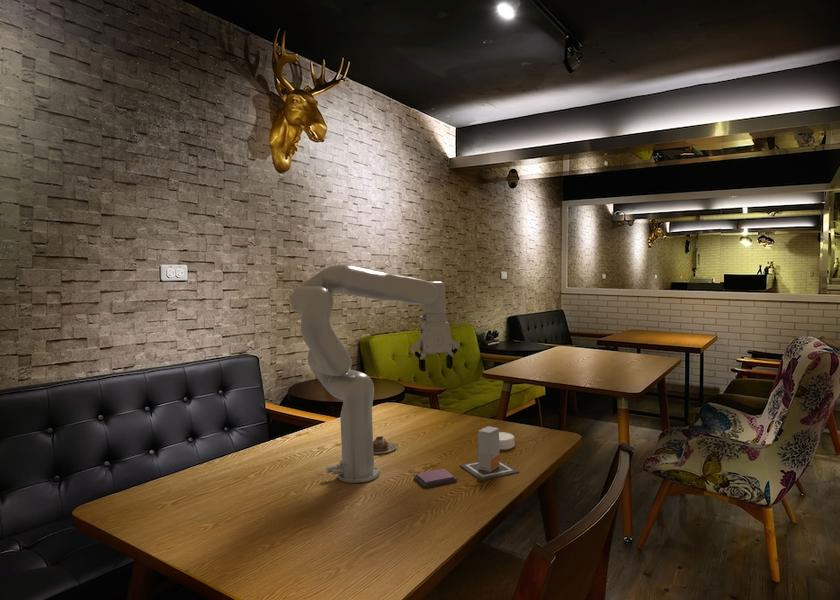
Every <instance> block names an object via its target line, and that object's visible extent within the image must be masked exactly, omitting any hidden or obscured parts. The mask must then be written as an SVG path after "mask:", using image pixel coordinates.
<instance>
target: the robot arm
mask: <svg viewBox="0 0 840 600" xmlns="http://www.w3.org/2000/svg"><path fill="white" fill-rule="evenodd" d="M335 294H344V295H345V294H346V295H351V296H354V297H355V296H356V297H362V298H367V299H373V300H379V301H397V302H398V301H401V302H402V303H404V304H407V305H413V306H414V305H416V306H422V309H423V310H422V315H420V316H419V320H420V321H422V323H421V326H420V331H419V332H420V334H419V335H420V336H419V341H417V342H415V344H413V345H411V346H410V349H411V351H412V353H413V355H414V356H415V357H416V358H417V359H418V369H419V371H420V372H422V373H423V372H426V359H425V357H427V355H428V354H429V355H430V354H433V355H434V354H442V353H443V354H444V353H445V354H446V356H445V362H446V368H447V369H450V370H452V369H453V365H454V364H453V363H454V359H453V358H454V356H455V355H456V353H457V352H458V349H459V347H460V342H458V341H456V340H454V339H452V334H451V333H452V332H451V327H450V324H449V322H448V321H447V307H446V306H447V301H446V285H445V282H443V281H440V280H439V281H438V280H437V281H428V280H424V279H421V278H420V279H419V278H414V277H410V276H405V275H404V276H403V275H398V274H393V273H388V272H383V271H377V270H374V269H373V270H372V269H367V268H363V267H359V266H354V265H348V264H338V265H330V266H328V267H326V268H324V269H322V270H320V271H319V272H318V273H316V274H315V275H313V276H312V277H311V278H309V279H308V280H306V281H305V282H303V283H302V284H300V285H299V286H298V287H296V288H295V289H294V290H293V291H292V293H291V295H290V299H289V302H290V306H291V308H292V310H293V311H294V312H296V313H298V314H299V315H301V318H300V334H301V337H302V339H303V341H304V343H305V345H306V346H307V348H308V349H309V350H308V352H307V356H306V357H307V364H308V366H309V368H310V370H311V371H312V372H313V374H314V375H315V377H316V379H317V380H318V381H319V382H320V384H321V385H322V386H323V388H324V389H325V390H326V391H327V392H328V393H329V395H331V396H332V397H334V398H336V399H338V400H341V401H342V407H341V411H340V416H339V417H340V435H341V436H340V439H341V441H340V444H341V459H340V460H339V463H336V465H330V466H329V465H328V466H326V473H327V474H331V473H332V475H337V479H338V480H340V482H344V483H349V484H359V483H366V482H371V481H373V480H375V479H377V478H378V477H379V475H380V473H381V472H380V468H378V467H377V466H376V465H375V455H374V453H375V451H374V450H373V442H374V432H373V431H374V430H373V426H374V425H373V404H374V403H373V402H374V396H375V386H374V385H375V384H374V382H373V379H372V378H371V377H370V376H369V375H368V374H366V373H364V372H362V371H358V370H355V369H351V368H352V366H353V363H352V362H353V360H352V356H351V354H350V353H349V351H348V350H347V348H346V346H345V345H344V344H343V342H342V341H341V340H340V338H339V337H338V336H337V334H336V333H335V331H334V329H333V327H332V325H331V313H332V309H333V305H334V296H333V295H335ZM418 348H419V349H420V351H419V352H418Z"/></svg>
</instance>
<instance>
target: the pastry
mask: <svg viewBox="0 0 840 600" xmlns="http://www.w3.org/2000/svg"><path fill="white" fill-rule="evenodd" d="M397 448H398V447H397V444H396V443H393V442H390V441H389V442H388V440H387V439H385V438H384V436H383V435H380V436H377V437H375V439H373V450H374V456H376V455H380V454H381V455H383V454H387V453H391V452H393V451H395V450H396V449H397Z"/></svg>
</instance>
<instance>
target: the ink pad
mask: <svg viewBox="0 0 840 600" xmlns="http://www.w3.org/2000/svg"><path fill="white" fill-rule="evenodd" d="M413 479H414V480H415V481H416V482H417V483H418V484H419V485H420V486H422V487H423V488H424V489H428V488H432V487H438V486H443V485H447V484H452V483H457V482H458V481H457V477H456V476H454V475H453V474H452V473H450V472H449V471H448V470H446V469H445V468H440V469H434V470H430V471H429V470H428V471H423V472H419V473H416V474H415V475H413Z"/></svg>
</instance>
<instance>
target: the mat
mask: <svg viewBox="0 0 840 600" xmlns="http://www.w3.org/2000/svg"><path fill="white" fill-rule="evenodd" d="M459 467H460V468H461V469H463V470H465V471H466V472H468V473H469V474H471V476H473V477H475V478H476V479H478V480H479V481H480V482H481V481H487V480H489V479H490V480H491V479H496V478H500V477H505V476H511V475H515V474H519V473H520V472H519V470H517V469H515V468H514V467H512V466H510V465H508V464H507V463H505V462H504V461H501V460H500V466H499V467H497V468H496V469H494V470H492V471H491V472H488V471H484V470H480V469H478V461H474V462H469V463H465V464H460V465H459Z"/></svg>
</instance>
